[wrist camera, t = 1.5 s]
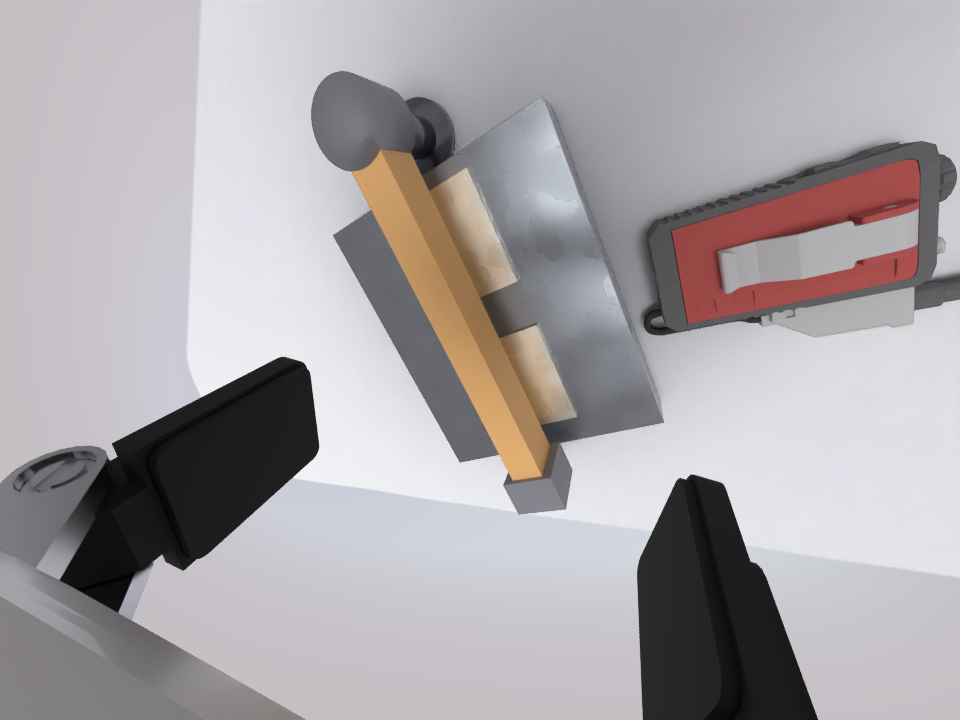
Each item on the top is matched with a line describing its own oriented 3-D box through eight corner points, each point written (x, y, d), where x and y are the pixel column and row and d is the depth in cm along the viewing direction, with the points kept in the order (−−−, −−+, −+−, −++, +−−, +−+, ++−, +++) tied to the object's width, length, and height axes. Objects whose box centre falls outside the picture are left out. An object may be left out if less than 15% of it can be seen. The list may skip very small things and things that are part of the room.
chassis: (551, 106, 21) (540, 94, 18) (659, 399, 26) (664, 426, 23) (358, 230, 29) (328, 236, 26) (472, 441, 34) (457, 466, 31)
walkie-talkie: (650, 353, 26) (1118, 270, 17) (655, 383, 22) (1258, 295, 13) (623, 226, 23) (1160, 52, 15) (623, 235, 19) (1349, 7, 11)
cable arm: (340, 115, 21) (292, 104, 18) (393, 69, 19) (349, 47, 16) (525, 477, 27) (513, 515, 24) (578, 469, 25) (571, 508, 22)
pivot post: (434, 83, 23) (396, 63, 19) (466, 155, 24) (436, 150, 20) (382, 124, 25) (339, 114, 21) (413, 189, 26) (378, 190, 22)
